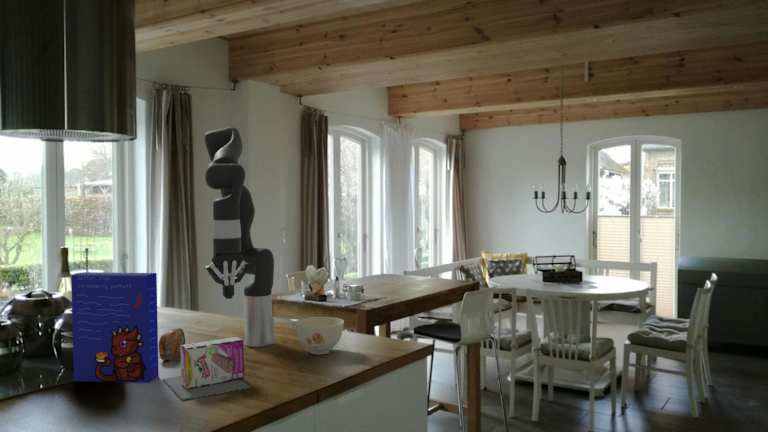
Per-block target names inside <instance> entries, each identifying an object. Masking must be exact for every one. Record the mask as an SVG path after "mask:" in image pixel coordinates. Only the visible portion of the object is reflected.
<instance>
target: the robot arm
mask: <svg viewBox="0 0 768 432" xmlns="http://www.w3.org/2000/svg"><path fill="white" fill-rule="evenodd" d="M204 144H205V147H206V150H207V153H208V156H209V159H210V163H209V165H208V166H207V168H206V171H205V175H204V176H205V177H204V178H205V179H204V180H205V183H206V185H207V186H208V187H209V188H210V189H212V190H220V194H221V198H216V199H213V200H214V201H213V202H212V209H213V210H212V212H213V213H212V214H213V215H212V216H213V217H212V218H213V219H212V220H213V223H212V249H213V251H212V253H213V254H212V255H213V256H212V258H211V262H210V263H209V264H208V265H205V266H204V271H205V272H206V273H207V274H208V276H210V277H211V279H212V280H213V281H214V282H215V283H216V284H219V285H221V286H222V296H223V297H224V298H225V299H226V300H231V299H233V297H234V296H235V284H237V283H240V282H242V280H243V278H244V277H245V275H246V274H247V275H253V276H254V278H253V280H254V281H253V282H252V283H250V284H248V285H245V286H244V289H243V295H244V296H243V301H244V302H243V305H244V306H243V309H244V311H243V313H244V314H243V315H244V318H243V319H244V320H243V321H244V346H245V347H249V348H261V347H262V348H263V347H267V346H270V345H275V317H274V315H273V313H272V309H273V308H272V306H273V305H272V290H273V286H274V274H275V273H274V271H275V259H274V258H275V257H274V254H273V252H272V251H271V250H270V249H269V248H265V247H254V244H253V241H252V237H251V229H252V225H253V221H254V219H255V211H256V210H255V205H254V201H253V198H252V195H251V192H250V190H249V188H247V187H246V185H245V184H244V183H245V179H246V170H245V168H244V167H243V165H241V164H239V159H240V157H241V155H242V152H243V141H242V138H241V134H240V132H239V130H238V129H237V128H236V127H234V126H231V127H229V126H228V127H224V128H219V129H215V130H211V131H210V130H209V131H207V132H206V133H205V134H204ZM216 269H217V271H218V272H219V275H220V277H219V275H218V274H217V273H216V272H215V271H216ZM238 269H239V270H238ZM237 270H238V271H237ZM236 272H237V273H236Z"/></svg>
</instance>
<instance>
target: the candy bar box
mask: <svg viewBox="0 0 768 432" xmlns="http://www.w3.org/2000/svg"><path fill="white" fill-rule="evenodd" d="M244 350H245V349H244V339H243V338H240V337H239V336H232V337H228V338H221V339H220V338H219V339H213V340H205V341H200V342H193V343H187V344H186V343H185V345H180V355H179V356H180V376H181V385H182V386H183V387H185V389H191V388H196V387H202V386H207V385H212V384H217V383H222V382H228V381H233V380H238V379H241V380H243V379H245V357H244V355H245V354H244Z"/></svg>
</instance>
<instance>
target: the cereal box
mask: <svg viewBox="0 0 768 432" xmlns="http://www.w3.org/2000/svg"><path fill="white" fill-rule="evenodd" d="M157 275H158V273H157V272H99V271H98V272H95V271H94V272H92V271H91V272H77V273H74V274H71V275H70V278H71V279H70V280H71V282H70V283H71V317H72V320H71V321H72V324H71V325H72V353H73V354H72V357H73V359H72V360H73V382H88V383H89V382H93V383H127V384H128V383H130V384H131V383H132V384H150V383H151V382H153V381H154V380H156V379H157V378H159V375H160V374H159V337H158V336H159V333H158V332H159V331H158V329H159V328H158V327H159V326H158V325H159V323H158V287H157V283H158V279H157V277H158V276H157Z"/></svg>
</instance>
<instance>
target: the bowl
mask: <svg viewBox="0 0 768 432" xmlns="http://www.w3.org/2000/svg"><path fill="white" fill-rule="evenodd" d="M294 324H295V325H294V326H295V330H296V333H297V337H298V340H299V342H300V344H301V345H302V346H303V347H304V348H306V349H308V350H309V352H310V354H313V355H325V354H329V353H330V351H331V350H332V349H333V348H334V347H335V346H336V345H337V344H338V343H339V341H340V340H341V338H342V334H343V330H344V326H345V325H344V324H345V321H344V320H343V319H342V318H339V317H334V316H314V317H313V316H310V317H305V318H301V319H300V318H299V319H297V320H296V321H295V322H294Z"/></svg>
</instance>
